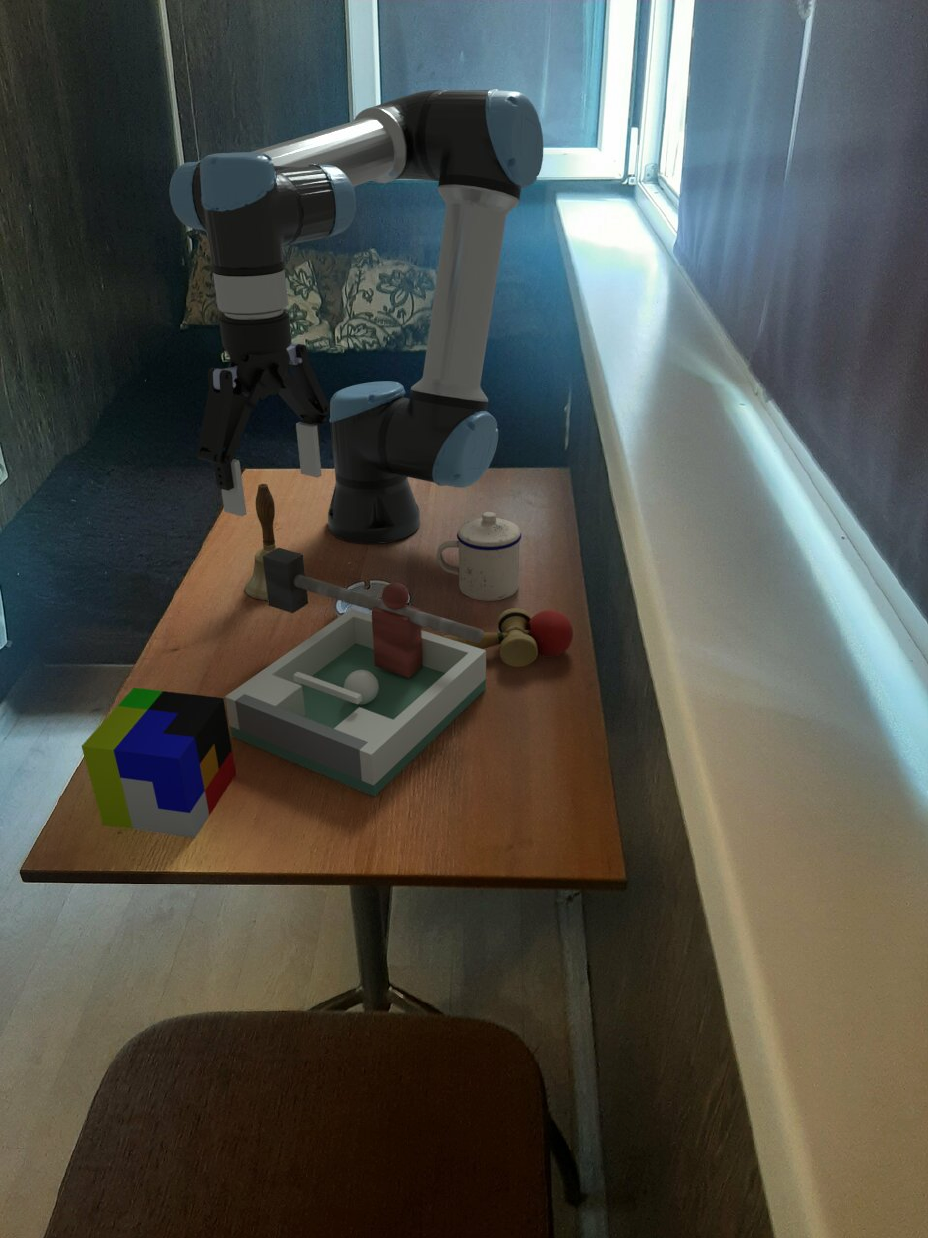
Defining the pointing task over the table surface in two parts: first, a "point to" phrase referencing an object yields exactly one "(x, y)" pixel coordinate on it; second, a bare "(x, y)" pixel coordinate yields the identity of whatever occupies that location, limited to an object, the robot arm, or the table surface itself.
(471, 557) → the teacup with lid
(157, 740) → the puzzle toy
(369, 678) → the ball
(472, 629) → the striker
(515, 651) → the kendama
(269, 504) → the hand bell
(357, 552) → the table surface
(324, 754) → the pitch
